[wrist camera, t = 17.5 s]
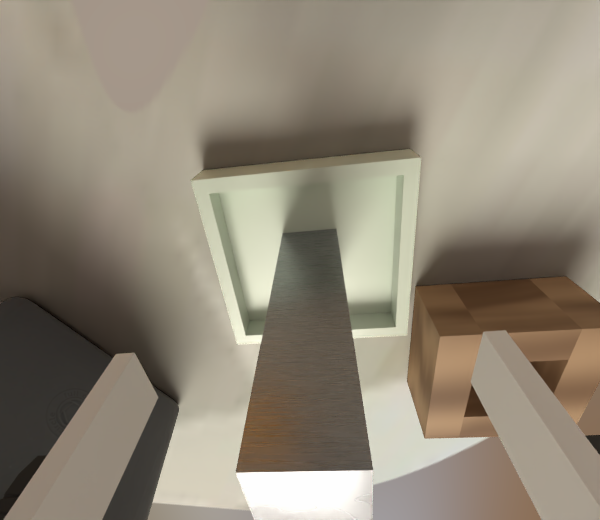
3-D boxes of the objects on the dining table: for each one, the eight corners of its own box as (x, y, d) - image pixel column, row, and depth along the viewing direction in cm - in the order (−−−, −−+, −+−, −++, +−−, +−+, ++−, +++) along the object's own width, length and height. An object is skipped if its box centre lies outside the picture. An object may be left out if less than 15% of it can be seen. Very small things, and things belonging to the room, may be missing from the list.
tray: (202, 170, 19) (190, 180, 17) (409, 148, 18) (421, 157, 16) (242, 323, 25) (236, 344, 23) (399, 314, 24) (407, 335, 22)
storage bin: (222, 409, 30) (160, 637, 18) (122, 457, 35) (20, 661, 23) (13, 249, 22) (-365, 468, 10) (-79, 341, 27) (-405, 563, 15)
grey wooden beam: (289, 277, 22) (259, 532, 10) (282, 233, 20) (235, 472, 8) (339, 274, 21) (372, 531, 9) (336, 228, 20) (373, 470, 8)
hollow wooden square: (415, 286, 22) (440, 336, 18) (566, 276, 22) (629, 326, 17) (407, 381, 27) (424, 438, 23) (529, 376, 27) (571, 434, 22)
